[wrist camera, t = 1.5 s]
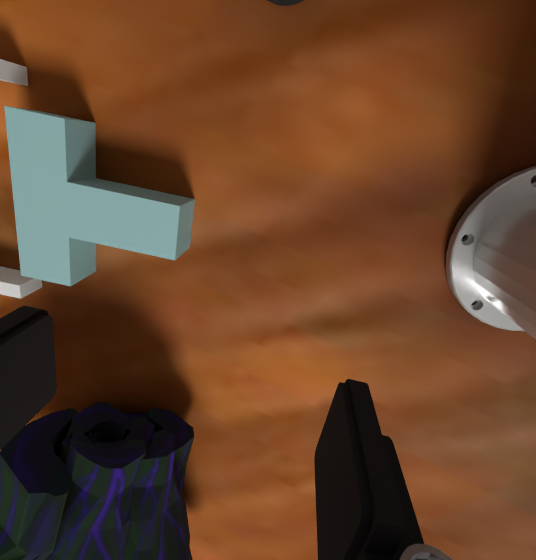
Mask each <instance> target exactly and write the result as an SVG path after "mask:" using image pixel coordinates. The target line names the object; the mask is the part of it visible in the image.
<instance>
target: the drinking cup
mask: <svg viewBox="0 0 536 560" xmlns="http://www.w3.org/2000/svg"><path fill="white" fill-rule="evenodd" d="M268 1H270V2H272V3H274V4H277V5H283V6H288V5H294V4H297V3H299V2H301V1H303V0H268Z"/></svg>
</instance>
